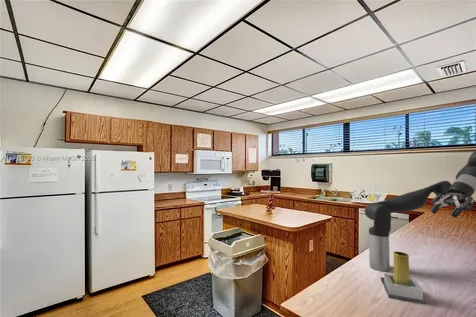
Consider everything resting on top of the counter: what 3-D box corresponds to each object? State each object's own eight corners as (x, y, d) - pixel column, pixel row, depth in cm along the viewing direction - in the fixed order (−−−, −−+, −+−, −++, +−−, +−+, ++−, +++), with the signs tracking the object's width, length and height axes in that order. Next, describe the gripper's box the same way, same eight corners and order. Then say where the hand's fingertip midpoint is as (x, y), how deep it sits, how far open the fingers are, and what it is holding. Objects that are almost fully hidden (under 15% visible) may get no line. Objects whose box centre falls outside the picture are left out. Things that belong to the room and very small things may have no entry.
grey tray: (380, 279, 111) (380, 268, 111) (411, 284, 106) (410, 272, 107) (388, 297, 95) (388, 284, 95) (425, 303, 91) (424, 290, 91)
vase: (403, 284, 102) (402, 250, 102) (414, 291, 96) (413, 256, 96) (389, 284, 102) (389, 251, 102) (400, 292, 96) (399, 256, 96)
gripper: (488, 194, 96) (466, 224, 94) (452, 191, 110) (431, 217, 108) (477, 181, 95) (454, 211, 93) (442, 180, 110) (421, 205, 107)
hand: (442, 214), depth 101 cm, fingers open, 8 cm apart
